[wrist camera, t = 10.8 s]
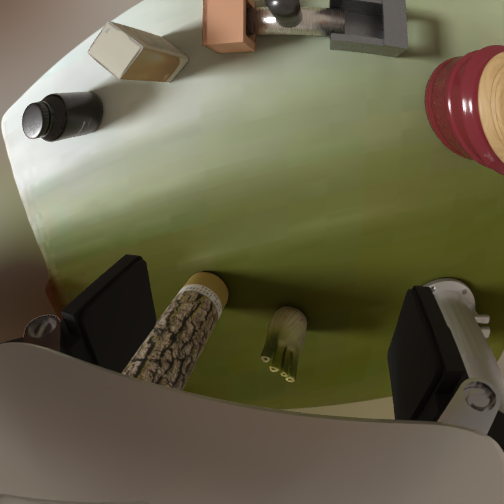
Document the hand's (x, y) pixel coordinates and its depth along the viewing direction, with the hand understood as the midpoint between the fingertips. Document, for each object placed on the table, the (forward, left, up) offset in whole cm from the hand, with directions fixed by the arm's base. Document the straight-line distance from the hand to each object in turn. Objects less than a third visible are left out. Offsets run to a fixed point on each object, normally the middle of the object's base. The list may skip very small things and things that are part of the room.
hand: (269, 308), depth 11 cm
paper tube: (+14, +20, -31) cm, 39 cm away
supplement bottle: (+33, -8, -31) cm, 46 cm away
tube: (+3, -18, -30) cm, 35 cm away
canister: (-20, -10, -31) cm, 38 cm away
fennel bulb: (+1, +23, -31) cm, 38 cm away
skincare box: (+19, -14, -31) cm, 39 cm away
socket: (+9, -18, -30) cm, 36 cm away
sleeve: (-6, -18, -30) cm, 36 cm away
